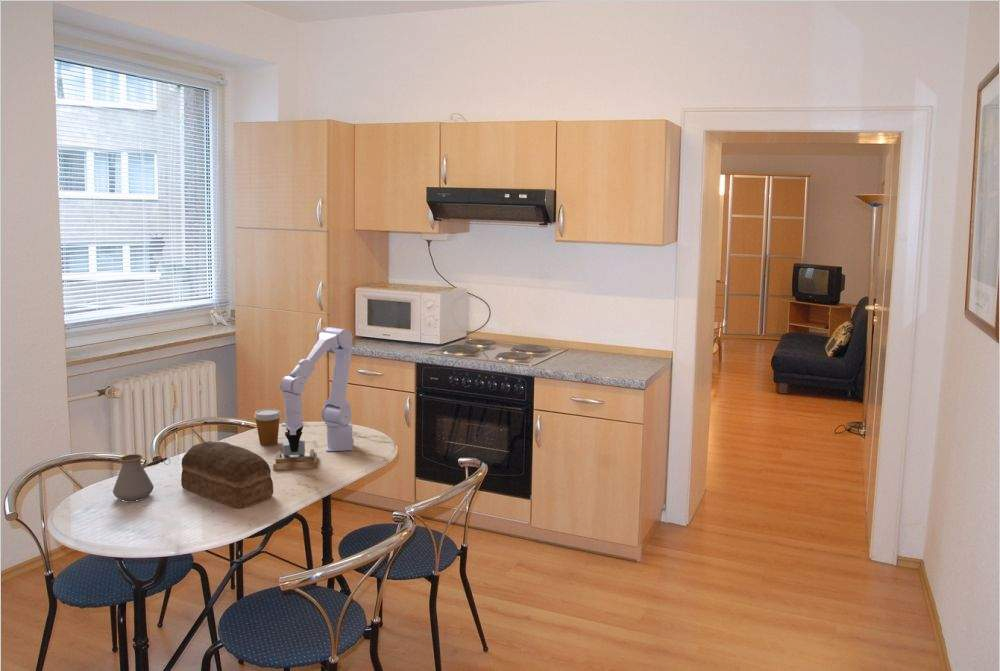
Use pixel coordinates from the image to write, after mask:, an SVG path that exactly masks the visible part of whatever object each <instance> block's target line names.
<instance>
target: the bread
mask: <svg viewBox="0 0 1000 671" xmlns="http://www.w3.org/2000/svg"><path fill="white" fill-rule="evenodd" d="M181 468H182V469H181V475H180V476H181V477H180V479H181V480H180V481H181V483H180V484H181V487H182V489H183V490H185V489H186V490H187V491H189V492H191V493H193V494H197V495H200V496H203V497H206V498H209V499H210V500H213V501H215V502H217V503H221V504H224V505H227V506H229V507H232V508H235V509H241V508H242V509H243V508H246V507H249V506H252V505H254V504H255V505H256V504H258V503H261V502H263V501H266V500H268V499H270V498H271V497H273V494H274V483H273V481H274V480H272V475H271V467H270V465H269V463H268V462H267V461H266V460H265V459H264V458H263V457H262V456H261V455H259V454H257V453H255V452H253V451H251V450H249V449H247V448H243V447H240V446H237V445H235V444H231V443H229V442H224V441H210V440H209V441H205V442H200V443H198V444H194V445H192V446H191V447H190V448H189V449H188V450H187V452H185V454H184V455H183V457H182V458H181Z"/></svg>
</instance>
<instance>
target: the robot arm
mask: <svg viewBox="0 0 1000 671" xmlns="http://www.w3.org/2000/svg"><path fill="white" fill-rule="evenodd" d="M352 344H353V334H352V333H351V331H350V330H349V329H347V328H338V327H333V326H332V327H331V326H325V327H324V328H323V329H322V330H321V332H319V335H318V340H317V342H316V343H315V345H314V346H313V348H312V349H311V351H310V352H309V354H308V356H307V357H306V358H301V359H300V360H298V362H297V364H296V365H295V367H294V369H292V371H291V372H290V373H289V375H286V376H284V377H283V378H282V379H281V382H280V384H279V389H280V390H281V392H282V397H283V398H284V400H283V401H284V420H285V421H284V422H282V423H281V427H285V429H286V431H285V432H284V436H285V437H286V439H287V441H289V445H290V449H291V452H298V447H299V441H301V440H300V439H301V437H302V435H303V432H302V431H303V429H304V422H303V405H302V404H303V401H302V400H303V398H302V393H303V392H304V390H305V389H306V384H307V382H308V381H307V380H309V378H310V377H311V375H312V374H313V373H314V371H315V370H316V365H315V364H317V363H318V361H319V360H320V359H321V358H322V357H323V356H324V355H325V354H326V352H327V351H329V350H330V349H331V350H332V351H333V353H334V354H335V356H334V364H333V366H334V367H333V373H332V374H333V375H332V383H331V390H330V396H329V397H328V399H326V400H325V401H324V405H323V408H322V410H321V413H320V414H321V419H322V420H323V421H324V425H326V444H325V445H326V446H325V451H326V452H341V451H342V452H343V451H344V452H345V451H353V450H354V445H353V444H354V443H355V442H354V441H355V439H354V438H353V436H354V435H353V423H350V422H351V420H352V411H351V409H352V408H351V407H352V405H351V403H350V402H349V400H348V399H347V389H348V384H349V374H350V367H351V358H352V354H353V353H352V350H353V349H352V346H353V345H352Z"/></svg>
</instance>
